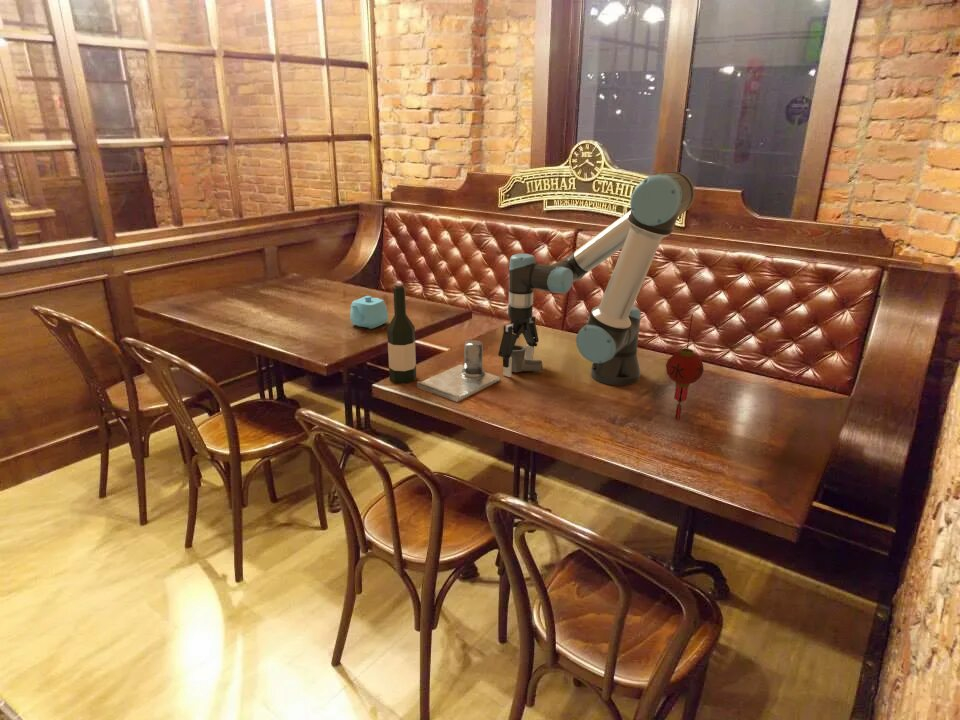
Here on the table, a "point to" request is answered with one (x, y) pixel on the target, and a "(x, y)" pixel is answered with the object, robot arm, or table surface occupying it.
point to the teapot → (368, 312)
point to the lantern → (684, 373)
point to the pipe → (524, 361)
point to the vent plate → (461, 376)
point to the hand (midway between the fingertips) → (518, 370)
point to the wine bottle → (401, 341)
